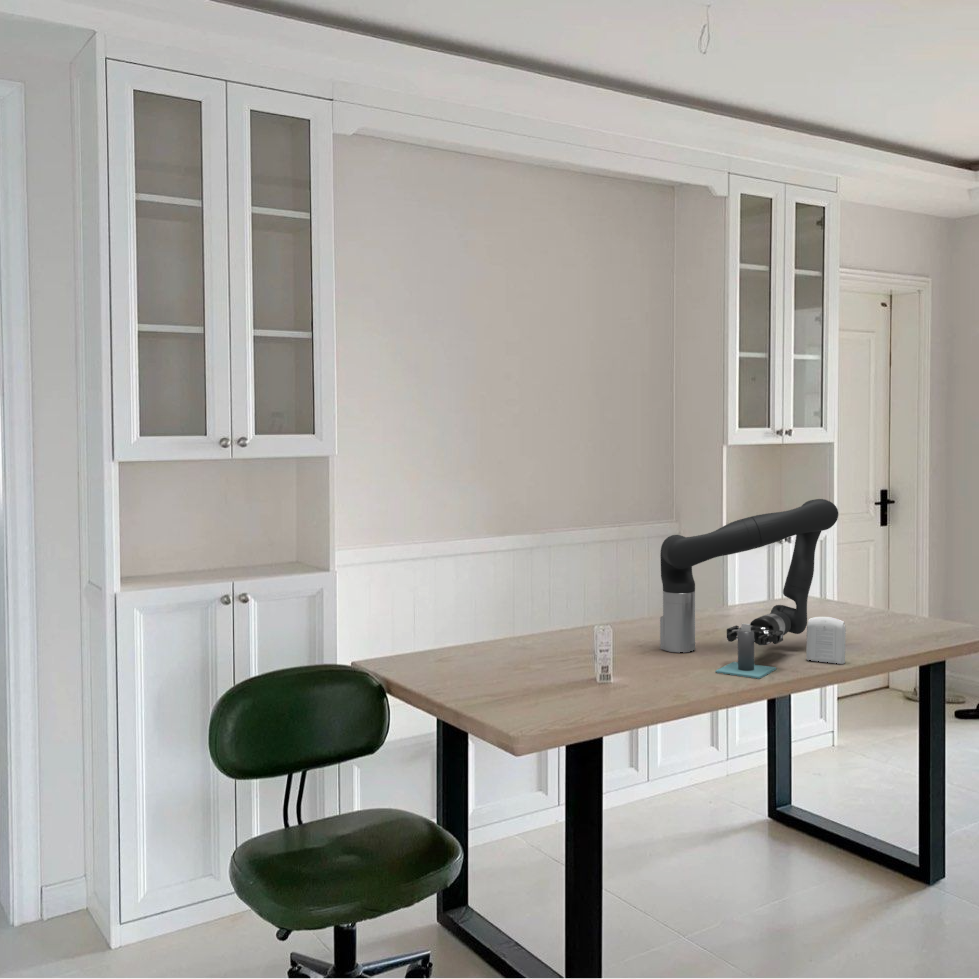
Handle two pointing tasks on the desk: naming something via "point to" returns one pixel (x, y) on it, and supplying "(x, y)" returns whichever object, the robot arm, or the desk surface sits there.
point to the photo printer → (826, 640)
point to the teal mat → (756, 673)
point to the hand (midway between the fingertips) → (744, 639)
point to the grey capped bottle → (745, 648)
